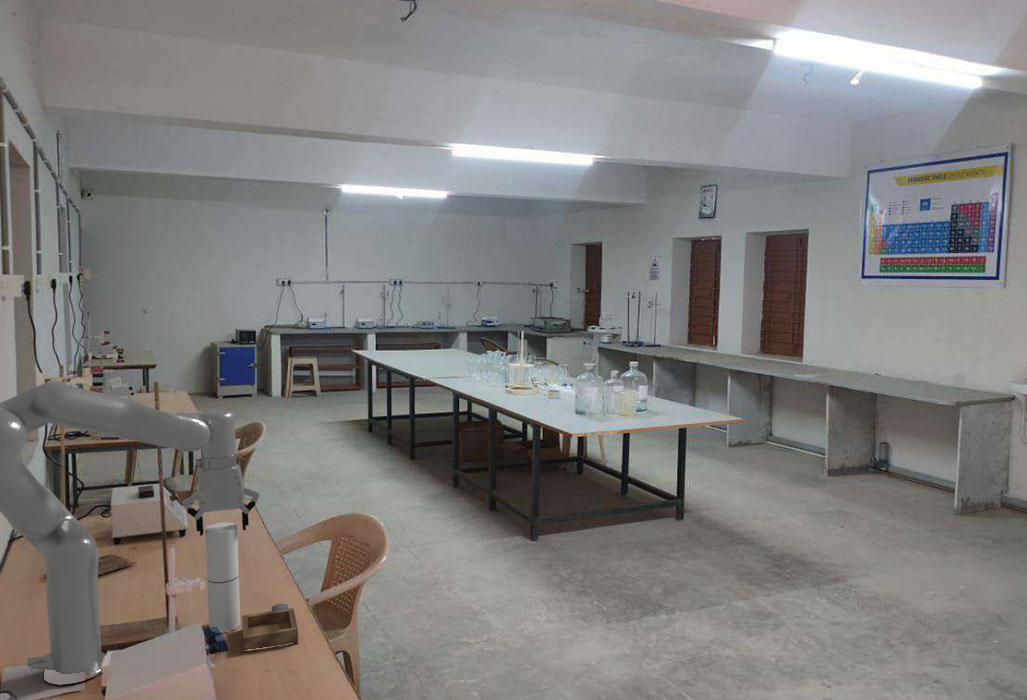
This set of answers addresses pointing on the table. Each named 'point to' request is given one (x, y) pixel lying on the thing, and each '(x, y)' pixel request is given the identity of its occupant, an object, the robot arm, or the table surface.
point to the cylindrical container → (223, 576)
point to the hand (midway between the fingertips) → (223, 531)
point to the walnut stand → (269, 629)
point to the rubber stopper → (279, 607)
